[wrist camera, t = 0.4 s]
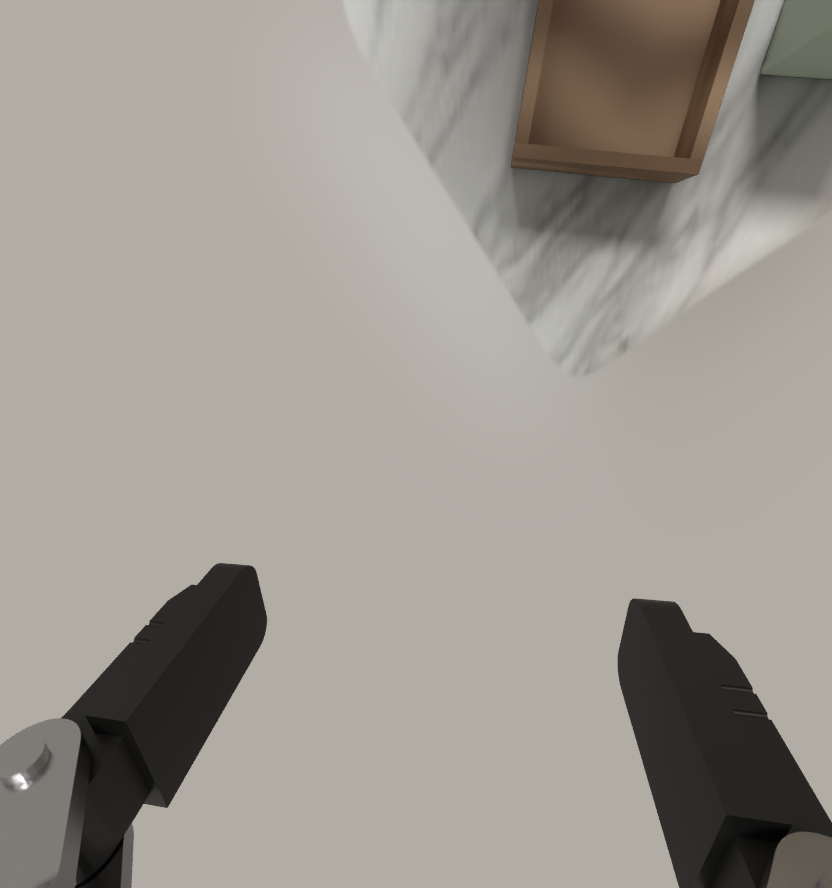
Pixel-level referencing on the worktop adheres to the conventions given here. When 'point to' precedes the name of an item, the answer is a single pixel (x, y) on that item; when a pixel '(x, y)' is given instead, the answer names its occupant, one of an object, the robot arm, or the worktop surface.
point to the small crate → (802, 41)
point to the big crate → (626, 85)
